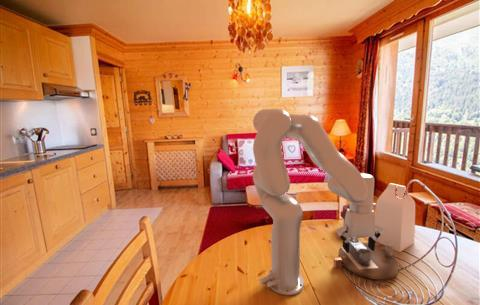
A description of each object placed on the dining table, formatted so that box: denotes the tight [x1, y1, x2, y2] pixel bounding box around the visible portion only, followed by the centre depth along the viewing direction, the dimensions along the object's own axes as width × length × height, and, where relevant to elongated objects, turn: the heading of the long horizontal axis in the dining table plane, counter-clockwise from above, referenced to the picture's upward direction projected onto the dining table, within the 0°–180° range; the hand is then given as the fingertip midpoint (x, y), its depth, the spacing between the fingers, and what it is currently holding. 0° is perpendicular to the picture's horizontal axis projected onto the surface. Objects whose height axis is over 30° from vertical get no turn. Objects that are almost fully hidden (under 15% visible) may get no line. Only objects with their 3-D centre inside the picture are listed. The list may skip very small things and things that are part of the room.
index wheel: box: [338, 241, 399, 280], centre depth 92 cm, size 20×20×6 cm
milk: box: [374, 182, 416, 253], centre depth 106 cm, size 12×12×26 cm
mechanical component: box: [340, 203, 350, 227], centre depth 118 cm, size 12×10×10 cm
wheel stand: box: [333, 256, 343, 270], centre depth 92 cm, size 15×8×4 cm, turn 116°
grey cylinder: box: [349, 238, 371, 267], centre depth 92 cm, size 4×12×4 cm, turn 3°
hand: (358, 249), depth 92 cm, fingers open, 9 cm apart
